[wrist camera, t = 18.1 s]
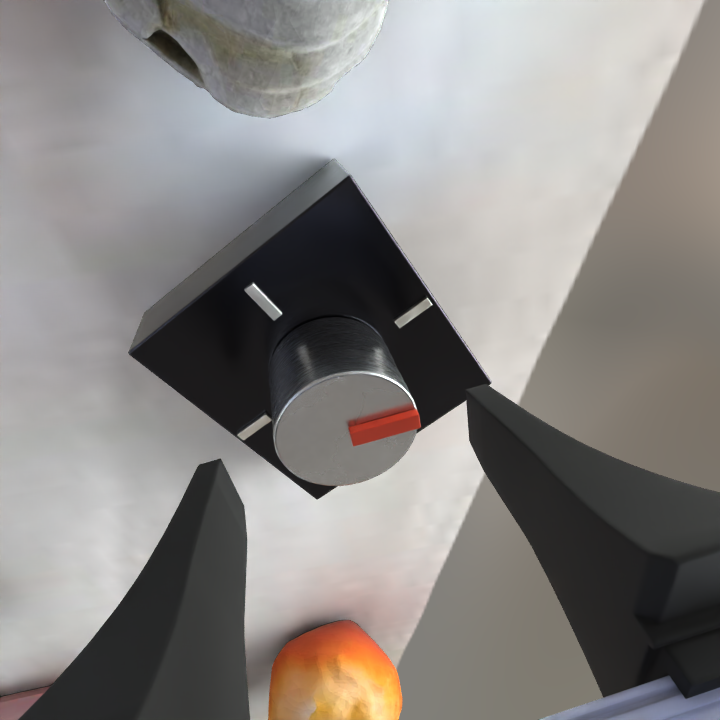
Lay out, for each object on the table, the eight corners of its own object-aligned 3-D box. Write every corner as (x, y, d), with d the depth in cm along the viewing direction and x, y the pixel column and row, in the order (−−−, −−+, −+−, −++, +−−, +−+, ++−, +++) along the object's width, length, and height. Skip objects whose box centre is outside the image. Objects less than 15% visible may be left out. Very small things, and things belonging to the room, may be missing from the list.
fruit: (295, 715, 34) (286, 829, 26) (264, 612, 33) (245, 695, 25) (403, 679, 34) (426, 780, 26) (373, 577, 34) (387, 648, 26)
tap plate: (143, 312, 18) (125, 356, 15) (334, 157, 16) (351, 175, 13) (309, 453, 23) (317, 503, 20) (464, 346, 21) (494, 385, 19)
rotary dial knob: (287, 431, 18) (296, 509, 15) (252, 334, 16) (254, 403, 12) (396, 401, 18) (428, 471, 15) (380, 302, 16) (413, 360, 13)
